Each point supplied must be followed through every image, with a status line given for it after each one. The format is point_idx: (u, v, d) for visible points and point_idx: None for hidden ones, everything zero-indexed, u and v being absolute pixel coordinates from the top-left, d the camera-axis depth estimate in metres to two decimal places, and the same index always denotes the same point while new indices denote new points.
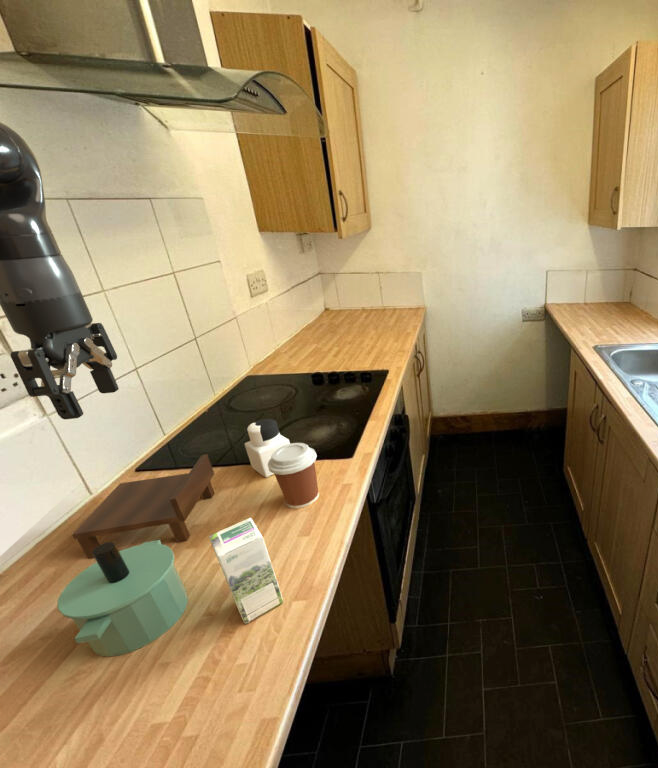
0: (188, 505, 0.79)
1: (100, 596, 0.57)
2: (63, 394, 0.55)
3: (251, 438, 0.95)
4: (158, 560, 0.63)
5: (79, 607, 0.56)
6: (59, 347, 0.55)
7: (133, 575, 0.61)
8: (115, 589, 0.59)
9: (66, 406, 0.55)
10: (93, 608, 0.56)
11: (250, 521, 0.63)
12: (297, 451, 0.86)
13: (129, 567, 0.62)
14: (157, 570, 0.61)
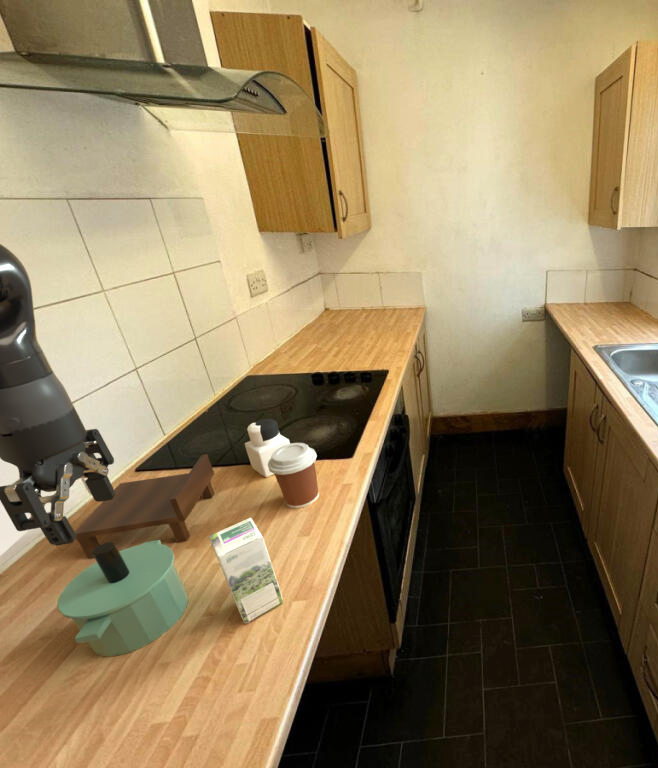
0: (188, 505, 0.79)
1: (100, 596, 0.57)
2: (55, 521, 0.51)
3: (251, 438, 0.95)
4: (158, 560, 0.63)
5: (79, 607, 0.56)
6: (50, 471, 0.50)
7: (133, 575, 0.61)
8: (115, 589, 0.59)
9: (58, 534, 0.51)
10: (93, 608, 0.56)
11: (250, 521, 0.63)
12: (297, 451, 0.86)
13: (129, 567, 0.62)
14: (157, 570, 0.61)
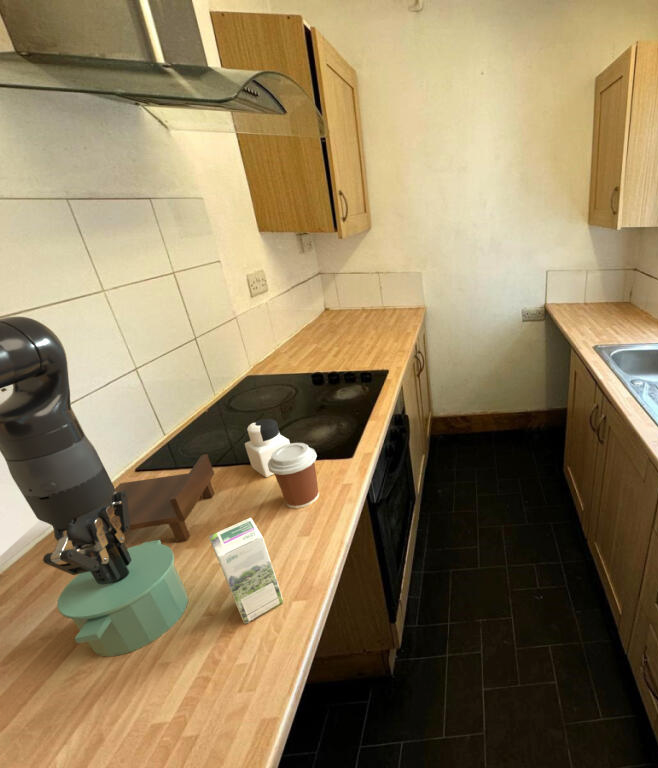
0: (188, 505, 0.79)
1: (100, 596, 0.57)
2: (102, 564, 0.57)
3: (251, 438, 0.95)
4: (158, 560, 0.63)
5: (79, 607, 0.56)
6: (82, 528, 0.54)
7: (133, 575, 0.61)
8: (115, 589, 0.59)
9: (105, 575, 0.57)
10: (93, 608, 0.56)
11: (250, 521, 0.63)
12: (297, 451, 0.86)
13: (129, 567, 0.62)
14: (157, 570, 0.61)
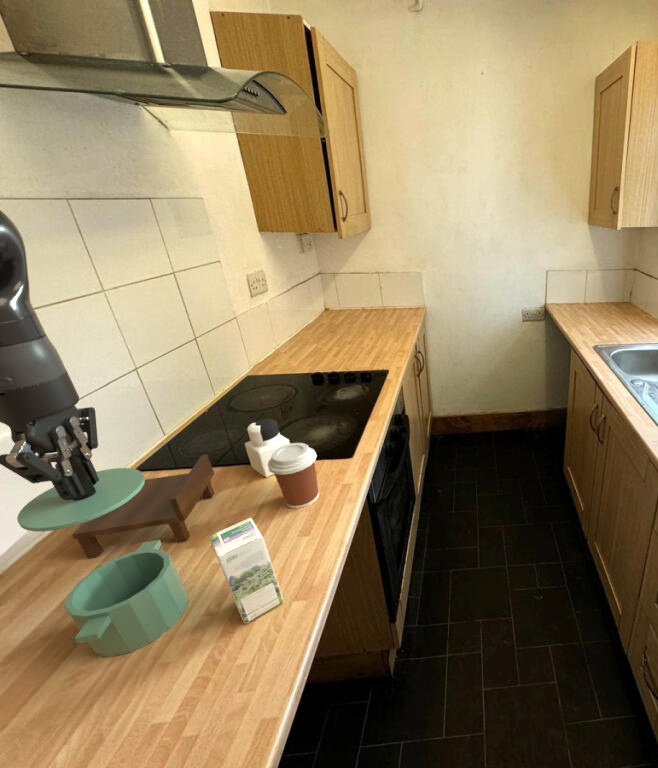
0: (188, 505, 0.79)
1: (63, 511, 0.55)
2: (65, 476, 0.54)
3: (251, 438, 0.95)
4: (127, 482, 0.60)
5: (40, 520, 0.53)
6: (42, 433, 0.51)
7: (100, 494, 0.58)
8: (79, 505, 0.56)
9: (68, 488, 0.55)
10: (54, 521, 0.53)
11: (250, 521, 0.63)
12: (297, 451, 0.86)
13: (96, 487, 0.59)
14: (125, 490, 0.59)
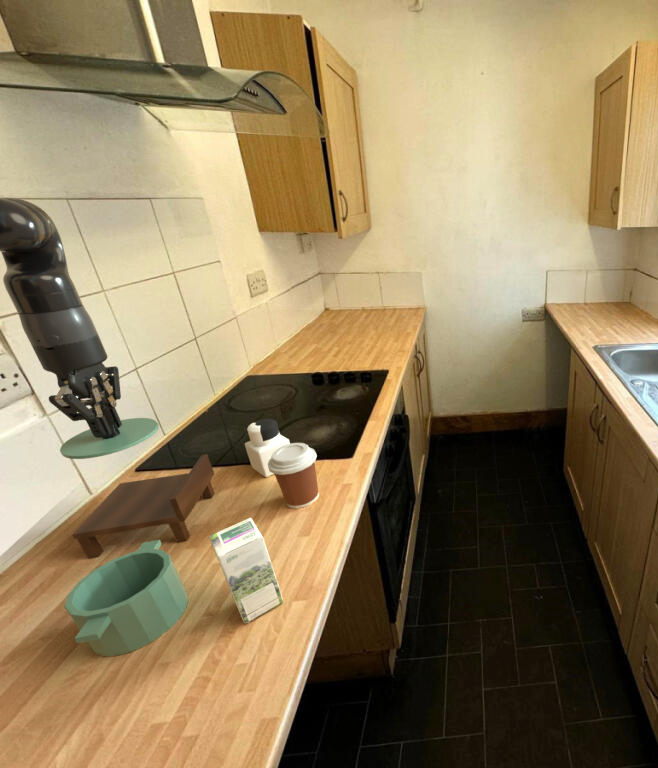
0: (188, 505, 0.79)
1: (95, 445, 0.69)
2: (97, 418, 0.69)
3: (251, 438, 0.95)
4: (144, 427, 0.75)
5: (78, 451, 0.68)
6: (80, 381, 0.66)
7: (123, 434, 0.73)
8: (108, 442, 0.71)
9: (99, 427, 0.69)
10: (89, 451, 0.68)
11: (250, 521, 0.63)
12: (297, 451, 0.86)
13: (120, 430, 0.74)
14: (143, 432, 0.73)
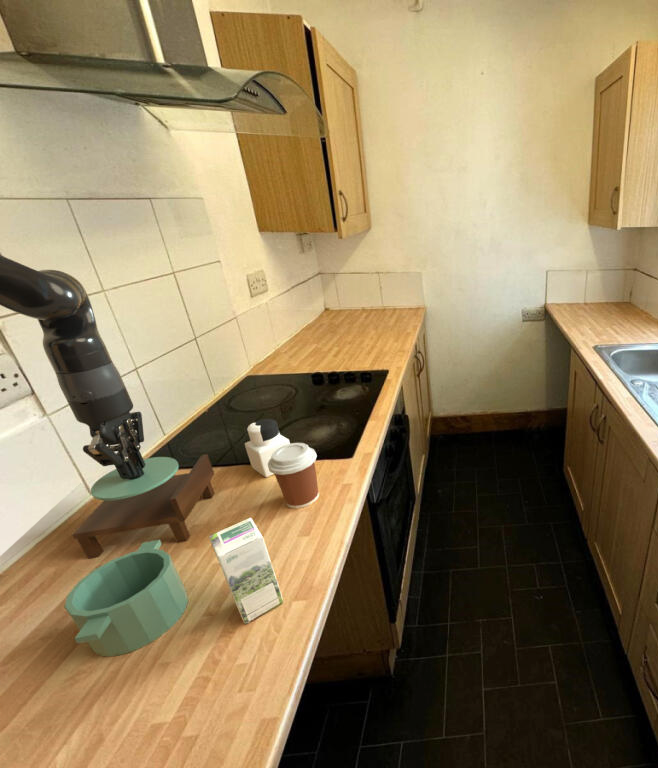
0: (188, 505, 0.79)
1: (122, 487, 0.76)
2: (124, 462, 0.75)
3: (251, 438, 0.95)
4: (166, 466, 0.81)
5: (107, 492, 0.74)
6: (110, 430, 0.72)
7: (147, 475, 0.79)
8: (134, 483, 0.77)
9: (126, 470, 0.76)
10: (118, 493, 0.74)
11: (250, 521, 0.63)
12: (297, 451, 0.86)
13: (144, 470, 0.80)
14: (165, 472, 0.80)
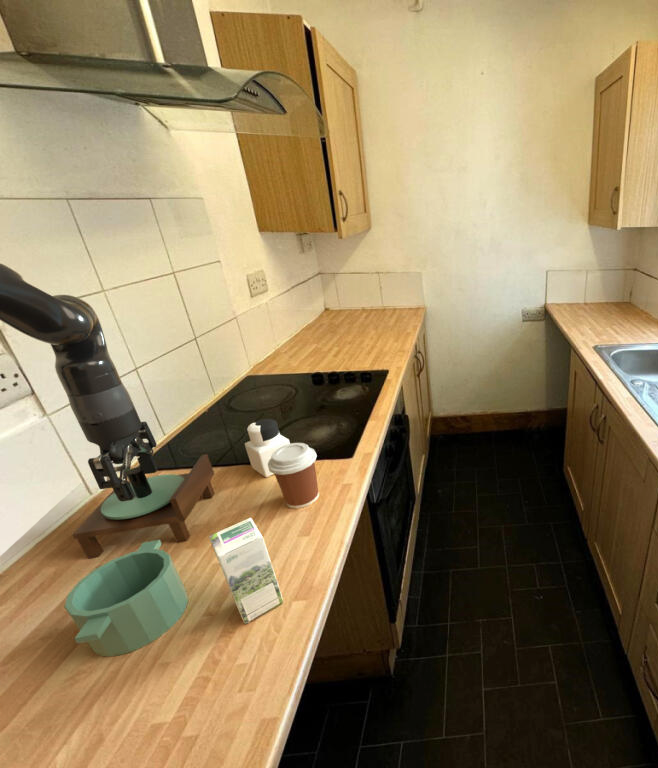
0: (188, 505, 0.79)
1: (132, 505, 0.78)
2: (122, 484, 0.74)
3: (251, 438, 0.95)
4: (173, 484, 0.83)
5: (117, 511, 0.76)
6: (119, 450, 0.74)
7: (155, 493, 0.81)
8: (143, 501, 0.79)
9: (124, 492, 0.74)
10: (127, 512, 0.76)
11: (250, 521, 0.63)
12: (297, 451, 0.86)
13: (152, 488, 0.82)
14: (173, 490, 0.82)
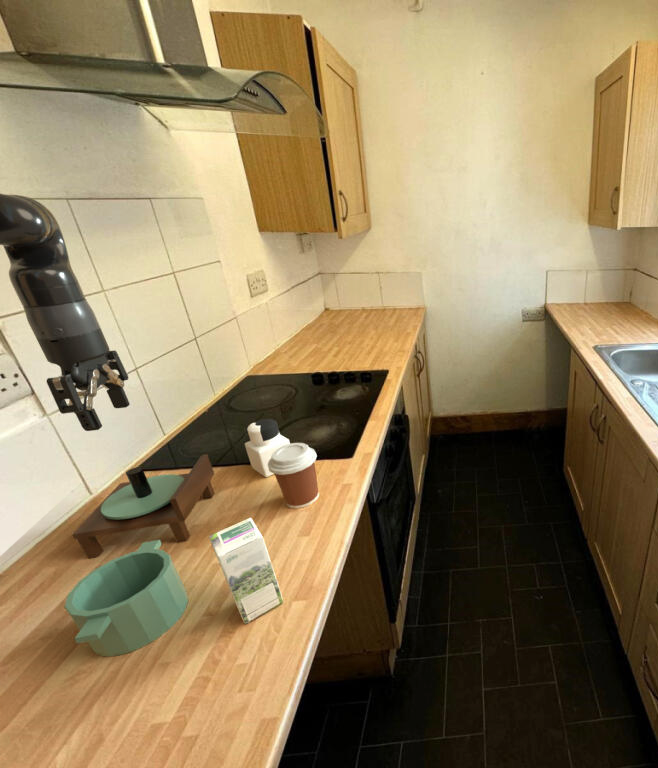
0: (188, 505, 0.79)
1: (132, 505, 0.78)
2: (86, 411, 0.68)
3: (251, 438, 0.95)
4: (173, 484, 0.83)
5: (117, 511, 0.76)
6: (83, 373, 0.68)
7: (155, 493, 0.81)
8: (143, 501, 0.79)
9: (89, 420, 0.68)
10: (127, 512, 0.76)
11: (250, 521, 0.63)
12: (297, 451, 0.86)
13: (152, 488, 0.82)
14: (173, 490, 0.82)
